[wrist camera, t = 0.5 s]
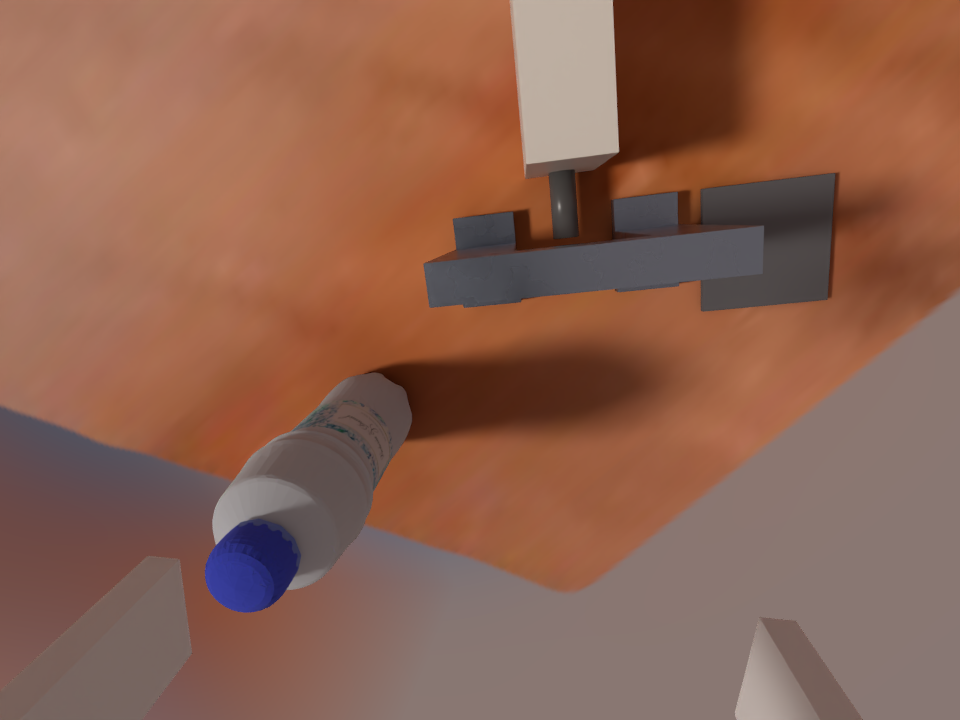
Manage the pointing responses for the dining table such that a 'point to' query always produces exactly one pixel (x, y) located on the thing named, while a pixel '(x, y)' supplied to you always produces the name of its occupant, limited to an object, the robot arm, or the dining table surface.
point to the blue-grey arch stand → (590, 256)
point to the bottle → (305, 494)
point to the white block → (565, 95)
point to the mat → (775, 240)
